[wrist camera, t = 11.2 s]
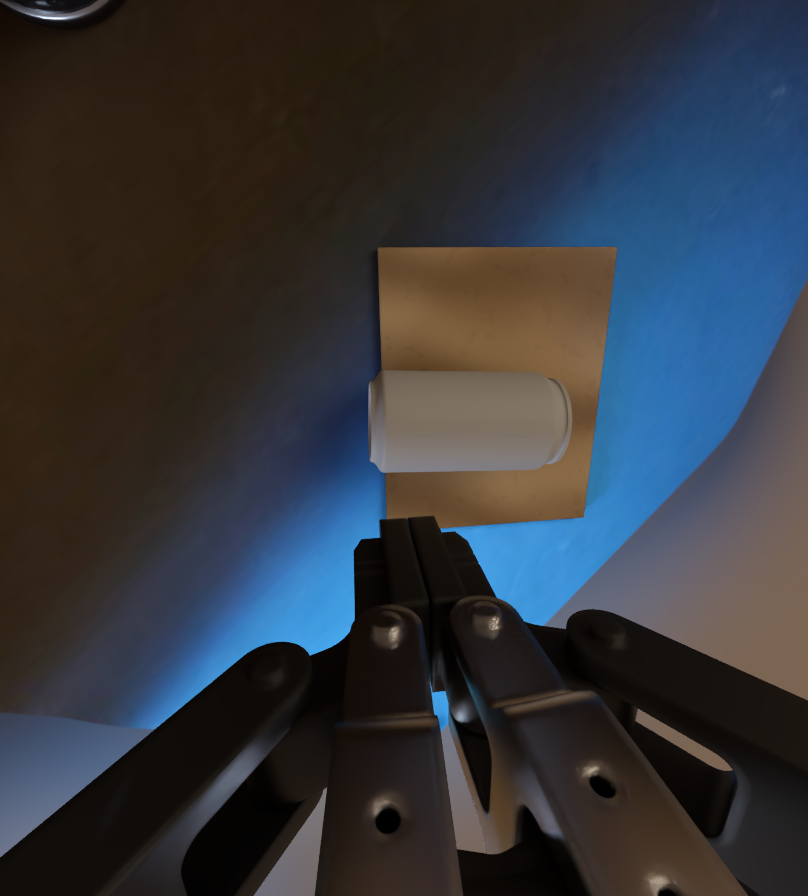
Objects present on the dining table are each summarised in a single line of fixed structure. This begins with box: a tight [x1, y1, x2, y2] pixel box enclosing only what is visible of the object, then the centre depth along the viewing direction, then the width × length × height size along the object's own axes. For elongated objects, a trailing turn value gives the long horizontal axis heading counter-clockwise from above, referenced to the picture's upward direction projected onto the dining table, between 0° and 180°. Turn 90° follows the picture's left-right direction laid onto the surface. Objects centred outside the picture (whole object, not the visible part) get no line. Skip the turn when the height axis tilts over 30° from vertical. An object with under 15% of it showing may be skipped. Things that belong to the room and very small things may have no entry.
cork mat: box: [377, 247, 617, 528], centre depth 30 cm, size 20×16×1 cm
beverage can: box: [368, 370, 572, 473], centre depth 27 cm, size 6×6×12 cm
